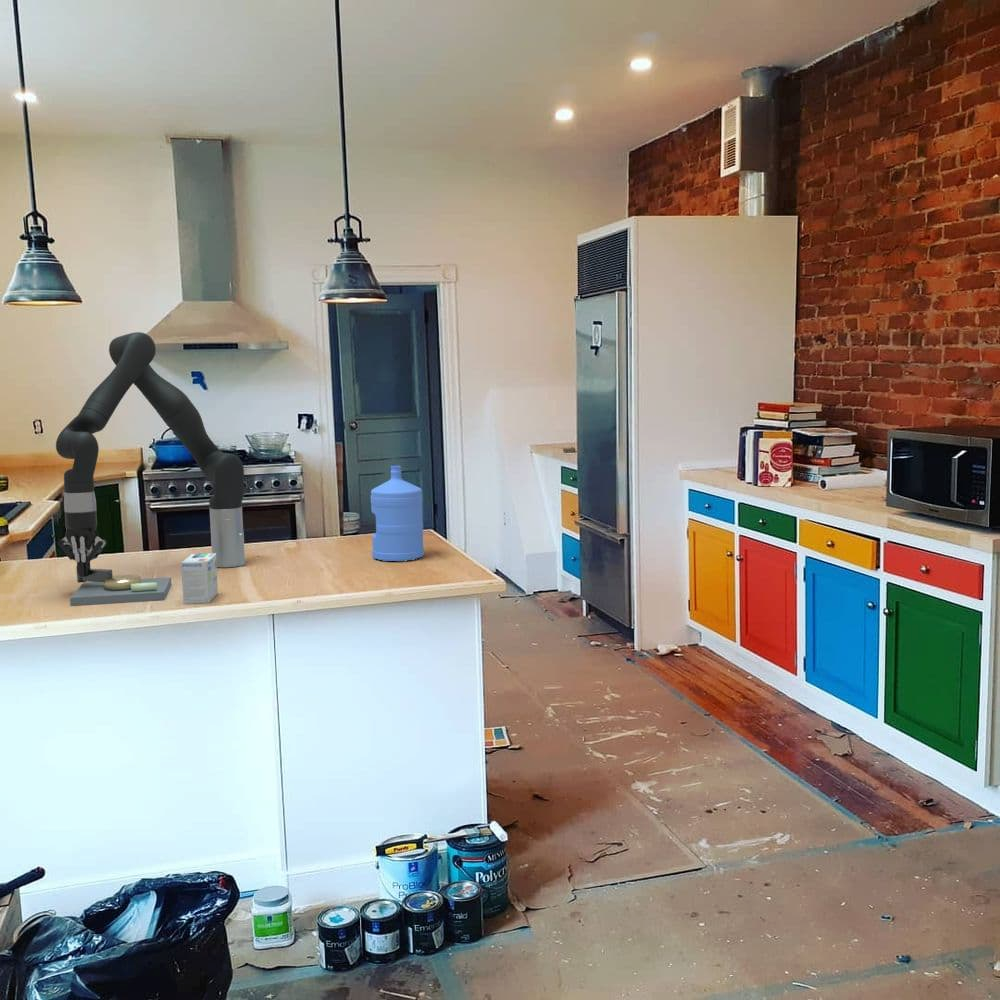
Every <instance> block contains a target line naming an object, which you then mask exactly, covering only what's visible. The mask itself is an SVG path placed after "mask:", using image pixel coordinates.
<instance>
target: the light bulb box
mask: <svg viewBox="0 0 1000 1000" xmlns="http://www.w3.org/2000/svg"><path fill="white" fill-rule="evenodd" d="M180 568H181V583H182V600H183V602H182V603H183V605H184V604H185V605H186V604H188V605H189V604H190V605H192V604H193V605H194V604H210V603H211V602H212V600H213V599H214V598H215V597H216V596H217V595H218V594H219V589H218V588H219V585H218V583H219V581H218V567H217V563H216V553H212V552H211V553H190V554H189V555H188V556H187V557H186V558H185V559H184V560H183V561H181V562H180Z"/></svg>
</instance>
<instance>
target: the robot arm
mask: <svg viewBox="0 0 1000 1000" xmlns="http://www.w3.org/2000/svg"><path fill="white" fill-rule="evenodd" d="M108 347H109V348H108V352H109V356H110V358H111V360H112V362H113V363H114V364H115V367H114V368H113V369H112V371H111V372H110V373H109V374H108V375H107V376H106V377H105V379H103V381H102V382H101V383H100V384H98V386H97V387H96V388H95V389H94V390H93V392H91V394H90V395H89V396H88V398H87V399H86V402H85V403H84V404H83V406H82V407H81V409H80V411H79V413H78V415H76V416H75V417H74V418H73V419H72V420H70V421H69V423H68V424H66V426H65V427H64V428H63V429H62V430H61V432H60V433H59V435H58V436H57V438H56V442H55V450H56V452H57V454H58V455H59V456H60V457H62V458H63V459H66V460H68V459H69V460H73V465H72V468H68V469H66V470H65V471H64V473H63V487H64V498H63V507H64V527H65V528H66V531H65V536H64V537H63V538H62V539H60V540H58V541H57V546H59V547H60V549H61V550H62V551H63V553H64V554H65V555H66V556H67V558H68V559H69V560H73V561H75V562H76V567H77V570H76V574H77V573H78V574H79V576H80V577H86V576H89V574H90V572H91V570H90V569H91V561H93V560H95V559H97V558H98V557H99V555H100V554H101V552H102V551H103V550H104V548H105V546H107V543H108V542H107V540H106V539H102V538H101V537H99V532H98V530H97V528H98V527H97V526H98V519H97V518H98V517H97V514H98V513H97V500H96V494H95V479H94V474H95V470H96V468H97V462H98V456H99V451H100V450H99V449H100V448H99V442H98V440H97V438H96V436H95V435H94V434H95V433H99V432H101V431H103V429H105V428H106V426H107V424H108V423H109V421H110V419H111V418H112V416H113V414H114V412H115V411H116V409H117V408H118V405H119V404H120V403H121V400H123V398H124V396H125V395H126V393H127V392H128V391H129V389H130V388H131V387H132V386H133V384H134V386H136V388H137V389H138V390H139V392H141V394H142V395H143V397H144V398H145V399H146V400H147V401H148V403H149V404H150V405H151V406H152V407H153V409H154V410H155V411H156V412H157V415H159V417H160V418H161V419H162V420H163V422H164V423H165V424H166V426H167V427H168V428H169V430H171V431H172V433H173V434H174V435H175V437H177V439H178V441H180V443H182V445H183V446H184V447H185V448H186V449H187V450H188V452H189V454H190V455H191V456H192V458H193V460H194V461H195V462H196V464H197V466H198V467H199V469H200V471H201V473H202V474H203V475H204V477H205V478H206V479H207V481H208V480H209V481H210V482H211V483H214V494H213V495H212V496H211V497H210V498H209V500H208V505H209V507H208V508H209V522H210V523H209V524H210V542H211V553H216V563H217V568H233V567H235V568H236V567H241V566H242V567H243V566H245V564H246V557H245V556H246V554H245V535H244V533H245V531H244V522H243V521H244V520H243V519H244V518H243V500H244V497H245V469H244V464H243V460H241V458H240V457H239V456H238V455H236V454H233V453H229V452H222V451H221V450H220V448H218V446H216V444H215V442H213V441H212V439H211V438H210V436H209V435H208V434H207V431H206V428H205V424H204V422H203V419H202V417H201V416H202V415H201V414H200V412H199V410H198V409H197V407H196V406H195V404H194V403H193V402H192V401H191V400H190V398H189V397H188V396H187V394H185V393H184V392H183V390H181V389H179V388H178V387H177V386H175V385H174V384H172V383H171V382H169V381H168V380H166V379H165V378H164V377H161V375H160V374H158V373H157V371H155V370H154V369H153V367H152V365H150V364H151V363H152V361H153V360H154V359H155V356H156V351H157V349H156V343H155V342H154V340H153V338H152V337H151V336H150V335H148V334H147V333H145V332H142V331H141V332H139V331H138V332H130V333H127V334H123V335H121V336H116V337H115V338H114V339H112V340H111V342H110V344H109V346H108Z"/></svg>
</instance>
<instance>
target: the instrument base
mask: <svg viewBox="0 0 1000 1000" xmlns="http://www.w3.org/2000/svg"><path fill="white" fill-rule="evenodd" d="M170 586H172V577H168V576H167V577H156V578H155V577H154V578H153V577H152V578H141V583H136V584H131V589H125V590H107V589H104V582H90V581H87V582H82V584H80V586H79V587H78V588H77V590H75V592H73V594H72V595H71V596H70V598H69V601H70V606H71V607H73V606H74V607H75V606H89V605H90V606H91V604H92V605H105V604H106V603H108V604H120V603H121V602H124V603H135V602H136V603H137V602H138V603H139V601H140V602H153V601H165V600H164V599H166V598H167V595H168V593H169V591H170V589H171V587H170Z"/></svg>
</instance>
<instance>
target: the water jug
mask: <svg viewBox="0 0 1000 1000" xmlns="http://www.w3.org/2000/svg"><path fill="white" fill-rule="evenodd" d="M401 468H402V466H401V465H390V479H389V480H388V481H385V482H384V483H382V484H380V485H378V486H376V487H374V488H373V489H371V491H370V506H371V511H370V512H371V513H372V514H374V515H375V529H376V530H375V531H376V532H375V533H372V539H371V540H372V549H371V550H372V552H371V553H372V558H373V559H374V560H376V559H378V560H377V561H379V560H382V561H381V562H386V561H403V562H406V561H405V560H412V561H414V560H413V559H416V560H418V559H417V558H419V559H421V558H422V557H424V554H425V549H424V519H423V490H422V488H421V487H419V486H417V485H414V484H413V483H410V482H409V481H406V480H404V479H403V478H402V469H401ZM420 557H421V558H420Z"/></svg>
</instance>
